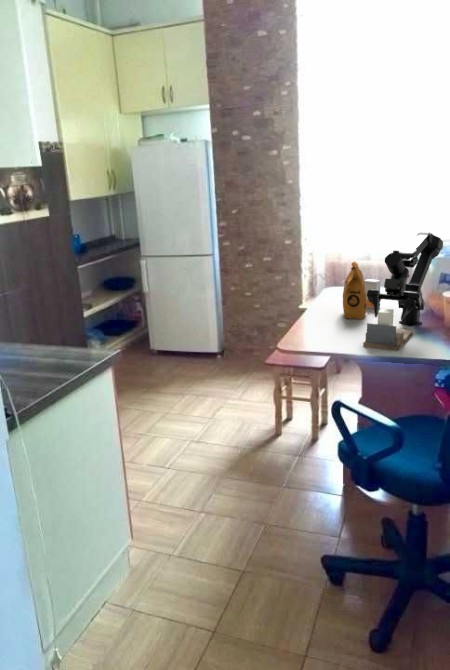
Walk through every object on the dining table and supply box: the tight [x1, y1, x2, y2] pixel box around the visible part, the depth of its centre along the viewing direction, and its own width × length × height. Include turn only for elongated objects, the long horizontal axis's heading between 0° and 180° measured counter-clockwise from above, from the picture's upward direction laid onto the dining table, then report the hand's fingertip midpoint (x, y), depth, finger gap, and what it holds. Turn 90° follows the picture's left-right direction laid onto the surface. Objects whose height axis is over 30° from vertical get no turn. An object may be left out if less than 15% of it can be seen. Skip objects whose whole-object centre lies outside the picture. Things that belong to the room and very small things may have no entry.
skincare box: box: [364, 278, 381, 309], centre depth 244 cm, size 6×4×12 cm
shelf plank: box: [362, 328, 413, 352], centre depth 201 cm, size 20×12×4 cm, turn 148°
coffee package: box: [342, 261, 367, 320], centre depth 231 cm, size 10×12×22 cm
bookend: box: [366, 322, 397, 346], centre depth 192 cm, size 1×10×7 cm, turn 59°
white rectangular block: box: [377, 308, 394, 326], centre depth 195 cm, size 5×4×11 cm
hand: (388, 318), depth 197 cm, fingers open, 9 cm apart
